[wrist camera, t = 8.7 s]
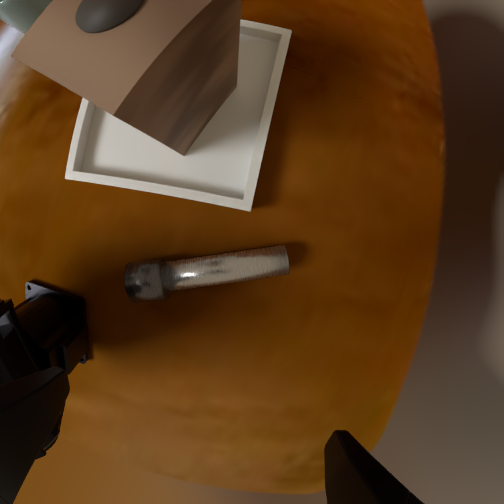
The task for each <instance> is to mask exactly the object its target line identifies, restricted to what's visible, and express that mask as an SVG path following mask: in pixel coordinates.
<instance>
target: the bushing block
mask: <svg viewBox="0 0 504 504" xmlns="http://www.w3.org/2000/svg"><path fill="white" fill-rule="evenodd" d="M241 5H242V0H53V1H52V2H51V3H50V4H49V5H48V6H47V8H46V9H45V10H44V11H43V12H42V14H41V15H40V16H39V17H38V19H37V20H36V21H35V22H34V24H33V25H32V26H31V28H30V29H29V30H28V32H27V33H26V34H25V36H24V37H23V39H22V40H21V41H20V43H19V44H18V46H17V47H16V49H15V50H14V52H13V53H12V55H11V57H13V58H15V59H16V60H18V61H20V62H22V63H24V64H26V65H27V66H29V67H31V68H33V69H35V70H36V71H38V72H40V73H42V74H44V75H45V76H47V77H49V78H51V79H52V80H54V81H56V82H57V83H59V84H61V85H63V86H64V87H66V88H68V89H69V90H71V91H73V92H75V93H76V94H78V95H80V96H81V97H83V98H85V99H86V100H88V101H90V102H91V103H93V104H95V105H96V106H98V107H100V108H101V109H103V110H104V111H106V112H108V113H109V114H111V115H113V116H114V117H116V118H118V119H120V120H122V121H123V122H125V123H127V124H129V125H131V126H132V127H134V128H136V129H138V130H140V131H141V132H143V133H145V134H147V135H148V136H150V137H152V138H154V139H155V140H157V141H159V142H161V143H162V144H164V145H166V146H167V147H169V148H171V149H173V150H174V151H176V152H178V153H179V154H181V155H183V156H185V154H186V153H187V151H188V150H189V148H190V147H191V146H192V144H193V143H194V141H195V140H196V139H197V137H198V136H199V135H200V133H201V132H202V131H203V129H204V128H205V126H206V125H207V124H208V122H209V121H210V120H211V119H212V117H213V116H214V115H215V113H216V112H217V111H218V110H219V108H220V107H221V106H222V104H223V103H224V102H225V101H226V99H227V98H228V97H229V96H230V94H231V93H232V92H233V91H234V90H235V88H236V87H237V75H238V55H239V37H240V20H241Z"/></svg>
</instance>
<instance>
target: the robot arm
mask: <svg viewBox="0 0 504 504" xmlns="http://www.w3.org/2000/svg"><path fill="white" fill-rule="evenodd" d="M30 287H31V288H30ZM25 291H26V300H25V301H23V302H22V303H20V304H19V305H17V306H16V307H13V306H14V304H13V302H12V299H8V300H5V301H4V300H1V299H0V504H13V502H14V500H15V498H16V496H17V494H18V492H19V490H20V488H21V486H22V484H23V482H24V480H25V478H26V476H27V474H28V472H29V470H30V468H31V466H32V465H33V463H34V461H35V460H36V459H38V458H40V457H43V456H45V455H46V451H47V450H48V449H49V448H51V447H52V446H53V444H54V443H55V442H56V440H57V438H58V435H59V433H60V425H61V420H62V416H63V411H64V407H65V402H66V398H67V396H68V394H69V391H70V386H69V381H68V376H67V375H68V374H70V373H71V372H72V370H73V369H74V368H75V366H76V365H77V364H78V363H82V364H85V363H86V361H87V360H88V354H87V351H88V350H89V345H88V326H87V323H86V303H85V300H84V299H83V298H82V297H80V296H76V295H73V294H70V293H66V292H63V291H60V290H57V289H54V288H51V287H48V286H45V285H42V284H39V283H36V282H33V281H29V282H27V283H26V284H25ZM78 301H79V302H80V303H81V305H79V303H78ZM82 358H83V359H82ZM324 455H325V490H326V497H327V504H424V503H423V502H422V501H420V500H419V499H418V498H417V497H416V496H415V495H414V494H412V493H411V492H410V491H409V490H408V489H407V488H406V487H405V486H404V485H403V484H402V483H400V482H399V481H398V480H397V479H396V478H395V477H394V476H393V475H392V474H391V473H390V472H389V471H387V469H386V468H385V467H383V466H382V465H381V464H380V463H379V462H378V461H377V460H376V459H375V458H374V457H373V456H372V455H371V454H370V453H369V452H368V451H367V450H366V449H365V448H364V447H363V446H362V445H361V444H360V443H359V442H358V441H357V440H356V439H355V438H354V437H353V436H352V435H351V434H350V433H349V432H348V431H346V430H335V431H334V432H333V434H332V435H331V437H330V438H329V440H328V442H327V443H326V445H325V449H324Z"/></svg>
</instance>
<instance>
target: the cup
mask: <svg viewBox="0 0 504 504" xmlns="http://www.w3.org/2000/svg"><path fill="white" fill-rule="evenodd" d="M52 1H53V0H0V20H1V21H3V22H4V23H6V24H8V25H9V26H11V27H13V28H15V29H16V30H18V31H20V32H22V33H24V34H26V33H27V32H28V30H29V29H30V28H31V26H32V25H33V24H34V22H35V21H36V20H37V19H38V17H39V16H40V15H41V14H42V12H43V11H44V10H45V9H46V8H47V6H48V5H49V4H50V3H51V2H52Z"/></svg>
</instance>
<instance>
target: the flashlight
mask: <svg viewBox="0 0 504 504" xmlns="http://www.w3.org/2000/svg"><path fill="white" fill-rule="evenodd" d="M287 274H289V260H288V254H287V250H286V247H285V245H280V246H273V247H266V248H259V249H252V250H245V251H238V252H231V253H224V254H218V255H211V256H204V257H197V258H190V259H183V260H176V261H169V262H165V261H164V259H163V258H158V259H152V260H145V261H139V262H132V263H128V264H127V265H126V268H125V273H124V281H125V288H126V292H127V294H128V297H129V299H130V300H131V301H132V302H133V303H139V302H148V301H157V300H165V299H168V298H169V296H170V291H174V290H181V289H189V288H197V287H204V286H211V285H219V284H226V283H233V282H240V281H247V280H254V279H261V278H267V277H274V276H280V275H287Z"/></svg>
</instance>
